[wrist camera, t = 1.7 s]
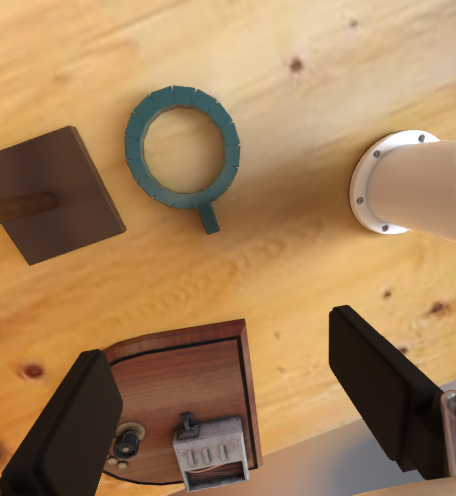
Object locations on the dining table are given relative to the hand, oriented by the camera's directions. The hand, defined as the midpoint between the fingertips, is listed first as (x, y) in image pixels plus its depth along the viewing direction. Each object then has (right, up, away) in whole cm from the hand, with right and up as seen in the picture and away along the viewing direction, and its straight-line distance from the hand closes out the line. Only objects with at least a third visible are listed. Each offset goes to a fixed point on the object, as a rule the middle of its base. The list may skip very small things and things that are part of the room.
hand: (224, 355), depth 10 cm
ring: (-4, +14, +18) cm, 23 cm away
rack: (-20, +10, +18) cm, 28 cm away
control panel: (-10, -23, +30) cm, 39 cm away
